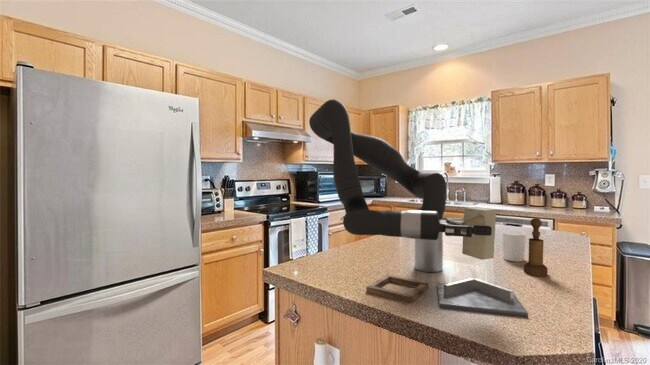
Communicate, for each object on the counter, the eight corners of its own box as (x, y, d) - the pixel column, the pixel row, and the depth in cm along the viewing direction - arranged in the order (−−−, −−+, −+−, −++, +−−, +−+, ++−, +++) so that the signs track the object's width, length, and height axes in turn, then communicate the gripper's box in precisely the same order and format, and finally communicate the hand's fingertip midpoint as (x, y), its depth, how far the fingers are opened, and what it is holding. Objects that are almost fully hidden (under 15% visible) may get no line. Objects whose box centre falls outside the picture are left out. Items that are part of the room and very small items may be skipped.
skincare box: (461, 254, 82) (462, 207, 82) (474, 252, 84) (474, 206, 83) (482, 260, 76) (483, 209, 76) (495, 258, 78) (496, 209, 78)
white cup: (525, 258, 122) (526, 232, 122) (525, 263, 115) (525, 235, 115) (502, 255, 126) (502, 230, 126) (500, 260, 120) (501, 233, 119)
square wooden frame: (387, 279, 100) (387, 274, 100) (428, 288, 92) (428, 282, 92) (366, 291, 89) (366, 286, 89) (410, 302, 81) (410, 297, 81)
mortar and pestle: (551, 277, 100) (552, 220, 100) (528, 275, 101) (529, 219, 101) (541, 270, 107) (542, 217, 106) (520, 269, 108) (520, 216, 107)
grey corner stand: (437, 285, 94) (437, 273, 94) (509, 292, 88) (510, 279, 88) (439, 307, 78) (439, 293, 78) (527, 317, 73) (528, 302, 73)
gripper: (418, 213, 77) (494, 216, 72) (419, 207, 91) (483, 209, 86) (418, 244, 77) (494, 249, 72) (419, 233, 91) (483, 237, 86)
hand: (488, 228), depth 79 cm, fingers closed on skincare box, 7 cm apart
